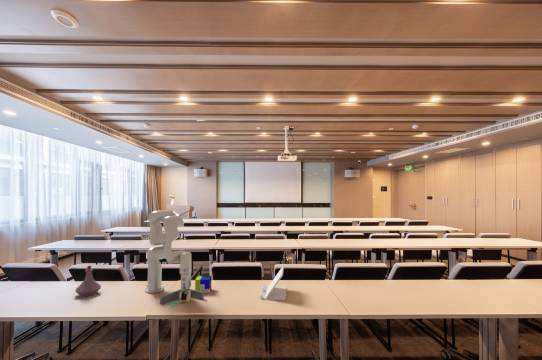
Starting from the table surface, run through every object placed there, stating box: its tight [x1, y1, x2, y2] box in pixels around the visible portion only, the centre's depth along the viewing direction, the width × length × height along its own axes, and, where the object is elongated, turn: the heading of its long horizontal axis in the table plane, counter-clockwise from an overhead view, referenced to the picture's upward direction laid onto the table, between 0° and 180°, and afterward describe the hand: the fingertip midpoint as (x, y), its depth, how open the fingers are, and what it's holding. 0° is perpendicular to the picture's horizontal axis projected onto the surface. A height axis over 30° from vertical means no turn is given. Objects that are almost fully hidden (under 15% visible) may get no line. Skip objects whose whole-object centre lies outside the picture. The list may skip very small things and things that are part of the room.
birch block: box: [178, 290, 192, 304], centre depth 189 cm, size 6×6×6 cm
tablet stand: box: [259, 265, 288, 301], centre depth 205 cm, size 18×25×17 cm
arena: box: [159, 288, 205, 307], centre depth 188 cm, size 18×21×5 cm
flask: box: [75, 265, 102, 298], centre depth 203 cm, size 16×16×20 cm
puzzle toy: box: [194, 275, 212, 294], centre depth 209 cm, size 10×10×10 cm
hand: (185, 297), depth 188 cm, fingers open, 9 cm apart
